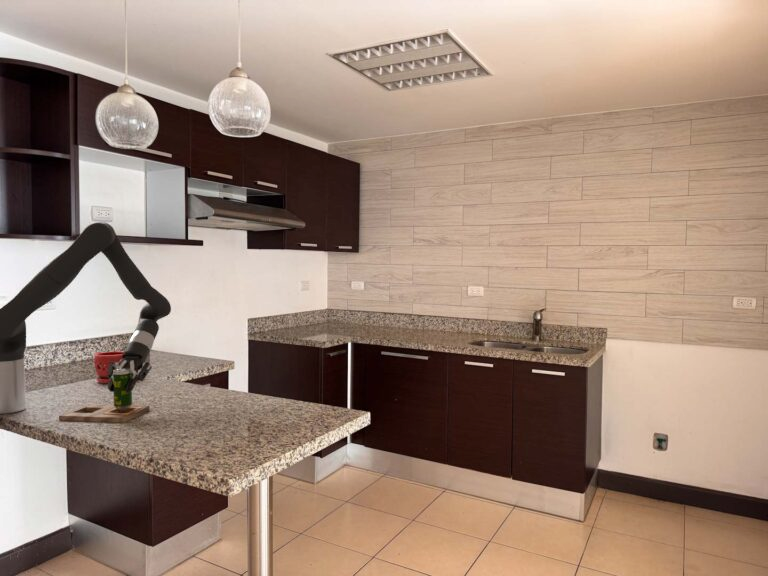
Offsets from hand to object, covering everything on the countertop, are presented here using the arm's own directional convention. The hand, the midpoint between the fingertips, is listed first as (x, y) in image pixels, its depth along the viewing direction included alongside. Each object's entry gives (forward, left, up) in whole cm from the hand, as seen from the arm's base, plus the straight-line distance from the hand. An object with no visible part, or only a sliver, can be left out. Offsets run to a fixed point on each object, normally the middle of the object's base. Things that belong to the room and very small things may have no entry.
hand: (119, 390), depth 176 cm
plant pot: (-35, +50, -9) cm, 61 cm away
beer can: (0, +2, -6) cm, 6 cm away
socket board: (-6, +2, -9) cm, 11 cm away
